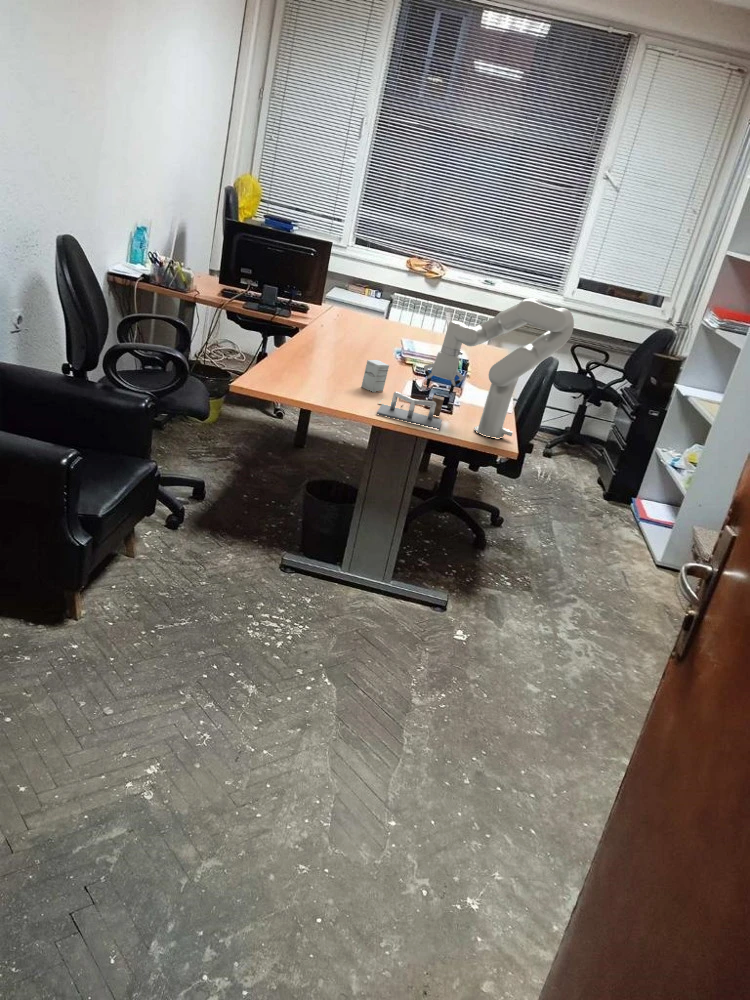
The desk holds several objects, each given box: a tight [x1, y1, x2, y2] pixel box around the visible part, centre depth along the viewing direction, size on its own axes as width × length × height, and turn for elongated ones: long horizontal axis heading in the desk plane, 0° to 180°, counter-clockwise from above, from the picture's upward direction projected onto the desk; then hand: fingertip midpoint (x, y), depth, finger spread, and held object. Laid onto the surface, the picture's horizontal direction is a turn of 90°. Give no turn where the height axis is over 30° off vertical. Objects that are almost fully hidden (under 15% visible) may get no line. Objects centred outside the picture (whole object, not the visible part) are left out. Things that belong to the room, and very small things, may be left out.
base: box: [376, 404, 443, 430], centre depth 310 cm, size 26×13×1 cm, turn 81°
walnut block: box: [431, 394, 445, 417], centre depth 321 cm, size 4×4×8 cm
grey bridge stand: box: [390, 391, 436, 420], centre depth 308 cm, size 18×7×8 cm, turn 81°
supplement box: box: [361, 359, 390, 393], centre depth 336 cm, size 7×7×13 cm
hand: (438, 390), depth 319 cm, fingers open, 9 cm apart
